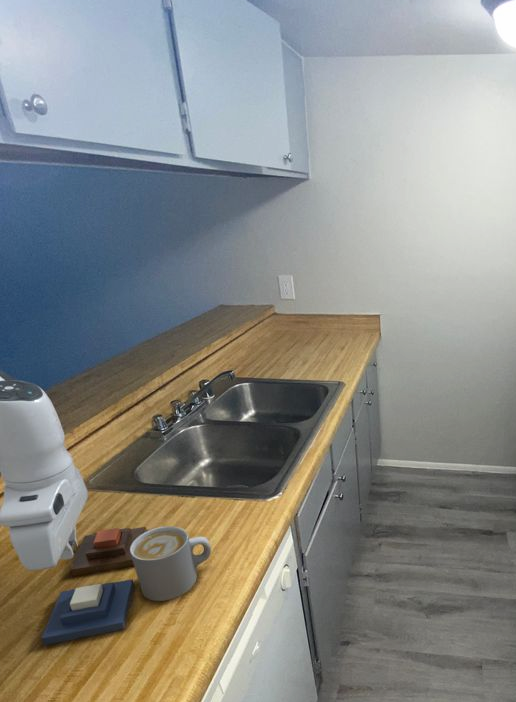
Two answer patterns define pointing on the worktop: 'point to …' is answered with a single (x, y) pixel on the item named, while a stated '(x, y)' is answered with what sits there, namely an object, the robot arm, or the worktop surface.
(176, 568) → the coffee mug
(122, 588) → the blue stepped button base
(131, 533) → the brown stepped button base
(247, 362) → the worktop surface
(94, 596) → the white square button cap
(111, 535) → the red square button
